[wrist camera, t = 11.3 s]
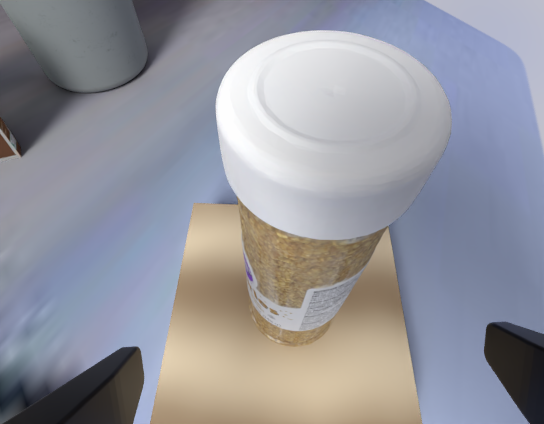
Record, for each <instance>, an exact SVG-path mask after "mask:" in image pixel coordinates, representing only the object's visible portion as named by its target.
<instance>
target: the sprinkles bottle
mask: <svg viewBox="0 0 544 424" xmlns="http://www.w3.org/2000/svg"><path fill="white" fill-rule="evenodd" d="M216 119H217V128H218V135H219V142H220V149H221V155H222V160H223V165H224V170H225V173H226V176H227V179H228V182H229V184H230V186H231V187H232V189H233V191H234V192H235V194H236V195H237V199H238V207H239V214H240V221H241V229H242V232H241V239H242V247H243V254H244V261H245V268H246V278H247V286H248V291H249V309H250V313H251V317H252V319H253V321H254V323H255V325H256V326H257V328H258V329H259V331H260V332H261V333H262V334H263V335H265V336H266V337H267V338H268V339H269V340H271V341H273V342H275V343H277V344H280V345H283V346H290V347H298V346H304V345H309V344H311V343H313V342H314V341H316V340H318V339H319V338H321V337H322V336H323V335H324V334H325V333H326V332H327V331H328V329H329V328H330V326H331V324H332V322H333V319H334V316H335V314H336V313H337V312H338V311H339V309H340V308H341V306H342V304H343V303H344V301H345V300H346V298H347V296H348V295H349V293H350V292H351V290H352V288H353V287H354V285H355V283H356V282H357V280H358V278H359V277H360V275H361V274H362V272H363V271H364V269H365V267H366V266H367V264H368V263H369V261H370V259H371V257H372V255H373V253H374V251H375V249H376V246H377V244H378V243H379V241H380V239H381V237H382V235H383V234H384V232H385V231H386V229H387V227H388V226H389V225H390V224H391V223H393V222H394V221H396V220H397V219H398V218H399V217H401V216H402V215H403V214H404V213H405V212H406V211H407V210H408V209H409V207H410V206H411V204H412V203H413V202H414V200H415V199H416V197H417V196H418V194H419V192H420V191H421V189H422V188H423V186H424V185H425V183H426V181H427V180H428V178H429V176H430V175H431V173H432V172H433V170H434V168H435V167H436V165H437V163H438V162H439V160H440V158H441V157H442V155H443V153H444V150H445V148H446V146H447V144H448V141H449V137H450V134H451V123H452V118H451V108H450V105H449V101H448V99H447V96H446V94H445V92H444V90H443V88H442V86H441V85H440V83H439V82H438V80H437V79H436V78H435V76H434V75H433V74H432V73H431V72H430V71H429V70H428V69H427V68H426V67H425V66H424V65H423V64H422V63H420V62H419V61H418V60H416V59H415V58H414V57H413V56H411V55H409V54H408V53H406V52H405V51H403V50H401V49H399V48H397V47H395V46H393V45H391V44H388V43H386V42H383V41H381V40H378V39H374V38H371V37H368V36H365V35H360V34H356V33H350V32H343V31H325V30H322V31H304V32H297V33H292V34H288V35H283V36H280V37H276V38H273V39H271V40H268V41H266V42H263V43H261V44H259V45H258V46H256V47H254V48H252V49H251V50H249V51H248V52H246V53H245V54H244V55H242V56H241V57H240V58H239V59H238V60H237V61H236V62H235V63H234V64H233V65H232V66H231V67H230V69H229V70H228V72H227V73H226V74H225V76H224V78H223V80H222V82H221V85H220V87H219V90H218V94H217V99H216Z"/></svg>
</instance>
